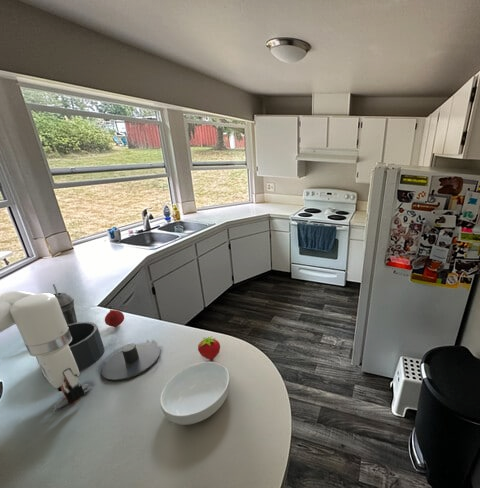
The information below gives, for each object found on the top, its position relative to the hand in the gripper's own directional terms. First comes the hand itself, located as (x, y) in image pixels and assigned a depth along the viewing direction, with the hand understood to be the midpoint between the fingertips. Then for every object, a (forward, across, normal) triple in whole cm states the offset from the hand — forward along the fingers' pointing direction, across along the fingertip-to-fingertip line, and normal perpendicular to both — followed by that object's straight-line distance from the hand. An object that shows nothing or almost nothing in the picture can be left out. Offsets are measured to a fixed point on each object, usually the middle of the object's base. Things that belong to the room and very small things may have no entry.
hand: (71, 392), depth 69 cm
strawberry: (+3, +20, +29) cm, 35 cm away
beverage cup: (+3, -39, +11) cm, 41 cm away
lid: (+2, -1, +15) cm, 15 cm away
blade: (+3, 0, 0) cm, 3 cm away
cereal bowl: (+3, +31, +17) cm, 35 cm away
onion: (+3, -26, +21) cm, 34 cm away
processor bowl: (+3, -18, +6) cm, 19 cm away
